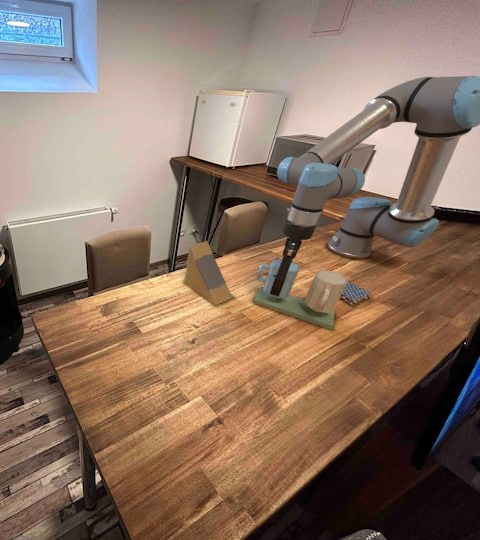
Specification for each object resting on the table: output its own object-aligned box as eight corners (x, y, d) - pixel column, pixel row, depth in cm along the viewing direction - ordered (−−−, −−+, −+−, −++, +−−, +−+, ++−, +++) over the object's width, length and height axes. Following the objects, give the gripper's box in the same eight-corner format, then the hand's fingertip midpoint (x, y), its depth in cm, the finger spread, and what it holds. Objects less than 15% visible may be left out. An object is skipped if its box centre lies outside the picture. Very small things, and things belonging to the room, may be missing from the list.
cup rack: (259, 289, 102) (270, 256, 94) (332, 313, 91) (351, 277, 84) (253, 302, 95) (264, 268, 88) (331, 329, 85) (351, 293, 78)
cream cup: (301, 311, 85) (314, 283, 80) (305, 293, 93) (317, 267, 87) (331, 321, 82) (347, 293, 76) (333, 302, 89) (347, 275, 84)
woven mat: (320, 288, 102) (322, 283, 101) (340, 281, 106) (343, 277, 105) (350, 306, 94) (353, 301, 93) (371, 298, 98) (374, 293, 97)
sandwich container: (215, 305, 94) (224, 266, 86) (183, 282, 105) (188, 246, 97) (233, 297, 98) (243, 259, 90) (200, 275, 109) (207, 240, 101)
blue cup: (257, 278, 100) (265, 253, 94) (290, 289, 95) (301, 263, 89) (251, 289, 94) (259, 263, 89) (286, 301, 89) (297, 274, 84)
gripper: (291, 208, 90) (270, 270, 102) (280, 231, 76) (257, 300, 88) (319, 213, 86) (294, 277, 99) (312, 239, 72) (284, 309, 84)
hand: (276, 288), depth 93 cm, fingers closed on blue cup, 8 cm apart
